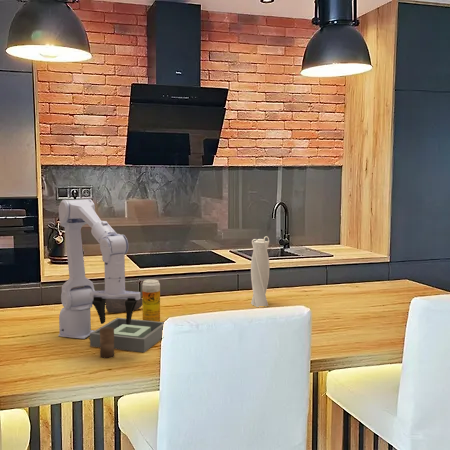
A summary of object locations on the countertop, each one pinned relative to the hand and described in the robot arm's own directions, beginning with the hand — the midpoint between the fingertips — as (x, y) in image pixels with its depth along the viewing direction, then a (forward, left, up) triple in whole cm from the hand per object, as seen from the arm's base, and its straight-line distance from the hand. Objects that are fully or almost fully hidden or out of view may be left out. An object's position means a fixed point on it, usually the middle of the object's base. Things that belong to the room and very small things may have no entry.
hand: (115, 323), depth 160 cm
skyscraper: (+28, +67, -10) cm, 74 cm away
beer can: (-3, +32, -10) cm, 34 cm away
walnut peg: (-2, -2, -10) cm, 10 cm away
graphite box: (-2, +13, -10) cm, 17 cm away
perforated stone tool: (-19, +43, -10) cm, 48 cm away
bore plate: (-2, +13, -10) cm, 17 cm away
